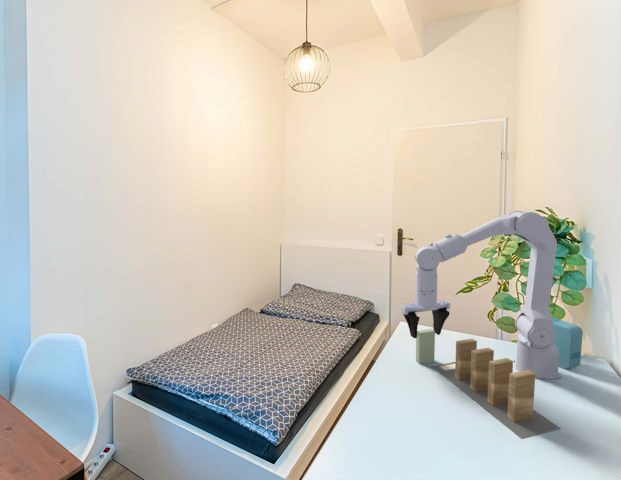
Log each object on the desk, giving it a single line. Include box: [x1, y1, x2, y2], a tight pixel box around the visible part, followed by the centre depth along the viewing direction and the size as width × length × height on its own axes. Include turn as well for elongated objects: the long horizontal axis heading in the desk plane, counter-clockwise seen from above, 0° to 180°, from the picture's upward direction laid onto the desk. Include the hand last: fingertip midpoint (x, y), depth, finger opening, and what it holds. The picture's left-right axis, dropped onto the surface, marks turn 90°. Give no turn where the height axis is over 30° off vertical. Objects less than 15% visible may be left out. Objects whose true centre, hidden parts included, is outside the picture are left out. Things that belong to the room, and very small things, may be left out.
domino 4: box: [507, 370, 536, 422], centre depth 68 cm, size 2×5×10 cm, turn 105°
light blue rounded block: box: [551, 316, 584, 370], centre depth 93 cm, size 12×4×12 cm, turn 21°
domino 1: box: [455, 338, 478, 380], centre depth 84 cm, size 2×5×10 cm, turn 104°
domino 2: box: [470, 347, 495, 392], centre depth 79 cm, size 2×5×10 cm, turn 105°
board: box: [431, 361, 562, 440], centre depth 78 cm, size 10×29×1 cm, turn 14°
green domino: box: [415, 328, 436, 365], centre depth 93 cm, size 2×5×10 cm, turn 105°
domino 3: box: [487, 357, 514, 406], centre depth 74 cm, size 2×5×10 cm, turn 105°
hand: (425, 335), depth 93 cm, fingers open, 7 cm apart
